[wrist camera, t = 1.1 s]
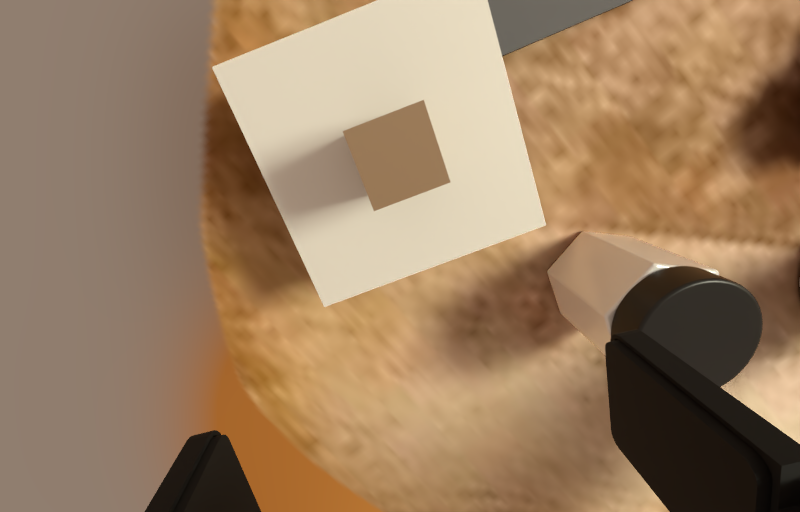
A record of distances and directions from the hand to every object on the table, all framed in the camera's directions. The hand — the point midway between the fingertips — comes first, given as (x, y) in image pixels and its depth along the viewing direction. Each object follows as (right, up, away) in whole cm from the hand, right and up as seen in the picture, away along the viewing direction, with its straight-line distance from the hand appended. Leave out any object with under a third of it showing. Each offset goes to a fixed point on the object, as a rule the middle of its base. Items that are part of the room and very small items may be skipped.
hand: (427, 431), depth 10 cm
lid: (-1, +11, +16) cm, 20 cm away
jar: (+17, +3, +26) cm, 31 cm away
